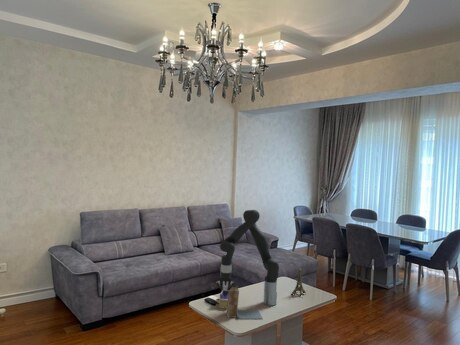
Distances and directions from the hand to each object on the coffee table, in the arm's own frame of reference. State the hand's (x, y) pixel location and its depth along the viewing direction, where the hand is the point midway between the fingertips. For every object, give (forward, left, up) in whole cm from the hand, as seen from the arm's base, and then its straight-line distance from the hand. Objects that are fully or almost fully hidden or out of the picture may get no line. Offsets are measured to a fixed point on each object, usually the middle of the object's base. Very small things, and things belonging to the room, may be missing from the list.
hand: (224, 295), depth 238 cm
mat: (-17, 0, -13) cm, 22 cm away
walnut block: (-5, 0, -13) cm, 14 cm away
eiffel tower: (-66, -39, -14) cm, 78 cm away
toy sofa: (-5, -20, -14) cm, 25 cm away
